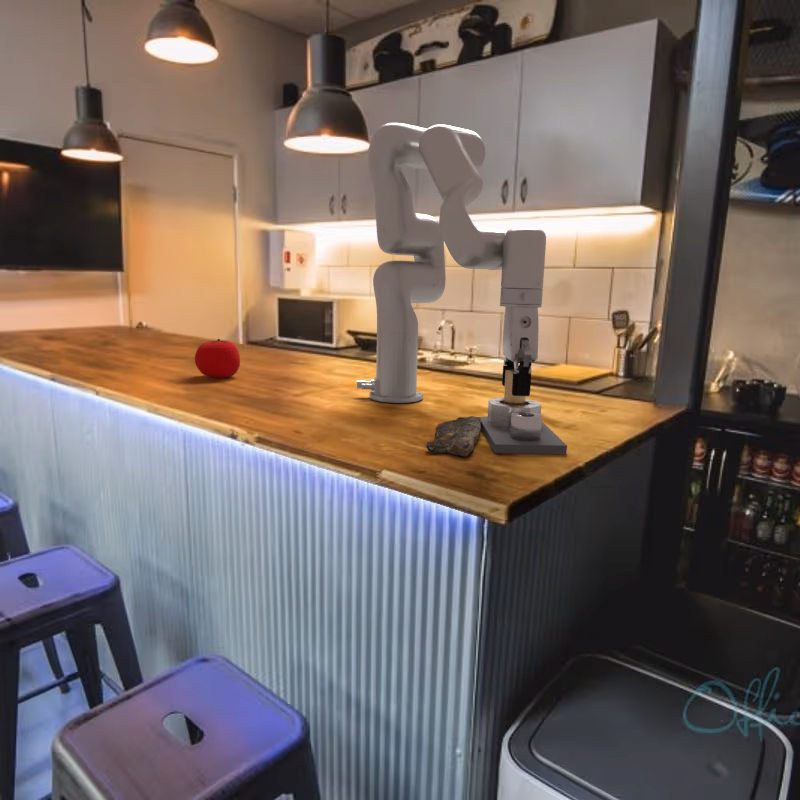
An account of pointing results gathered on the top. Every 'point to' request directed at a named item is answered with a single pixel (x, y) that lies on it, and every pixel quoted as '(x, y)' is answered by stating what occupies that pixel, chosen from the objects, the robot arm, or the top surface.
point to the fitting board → (506, 444)
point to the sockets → (517, 418)
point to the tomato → (217, 359)
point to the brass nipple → (508, 396)
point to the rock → (456, 436)
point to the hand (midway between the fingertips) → (515, 390)
